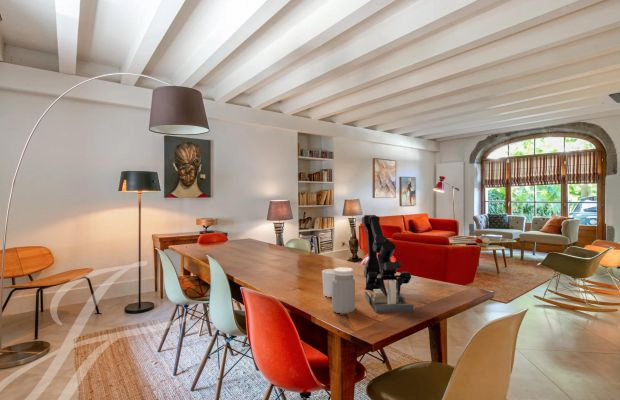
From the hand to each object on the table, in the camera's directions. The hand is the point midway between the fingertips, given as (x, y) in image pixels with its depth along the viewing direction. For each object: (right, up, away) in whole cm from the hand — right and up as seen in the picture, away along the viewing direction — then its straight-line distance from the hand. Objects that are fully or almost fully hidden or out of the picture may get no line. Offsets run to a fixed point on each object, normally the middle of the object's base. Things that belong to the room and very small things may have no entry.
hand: (392, 295), depth 139 cm
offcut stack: (-1, -7, +13) cm, 15 cm away
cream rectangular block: (0, -6, +1) cm, 6 cm away
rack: (0, -7, +7) cm, 10 cm away
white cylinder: (-24, -7, +24) cm, 35 cm away
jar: (-21, -7, +2) cm, 22 cm away
